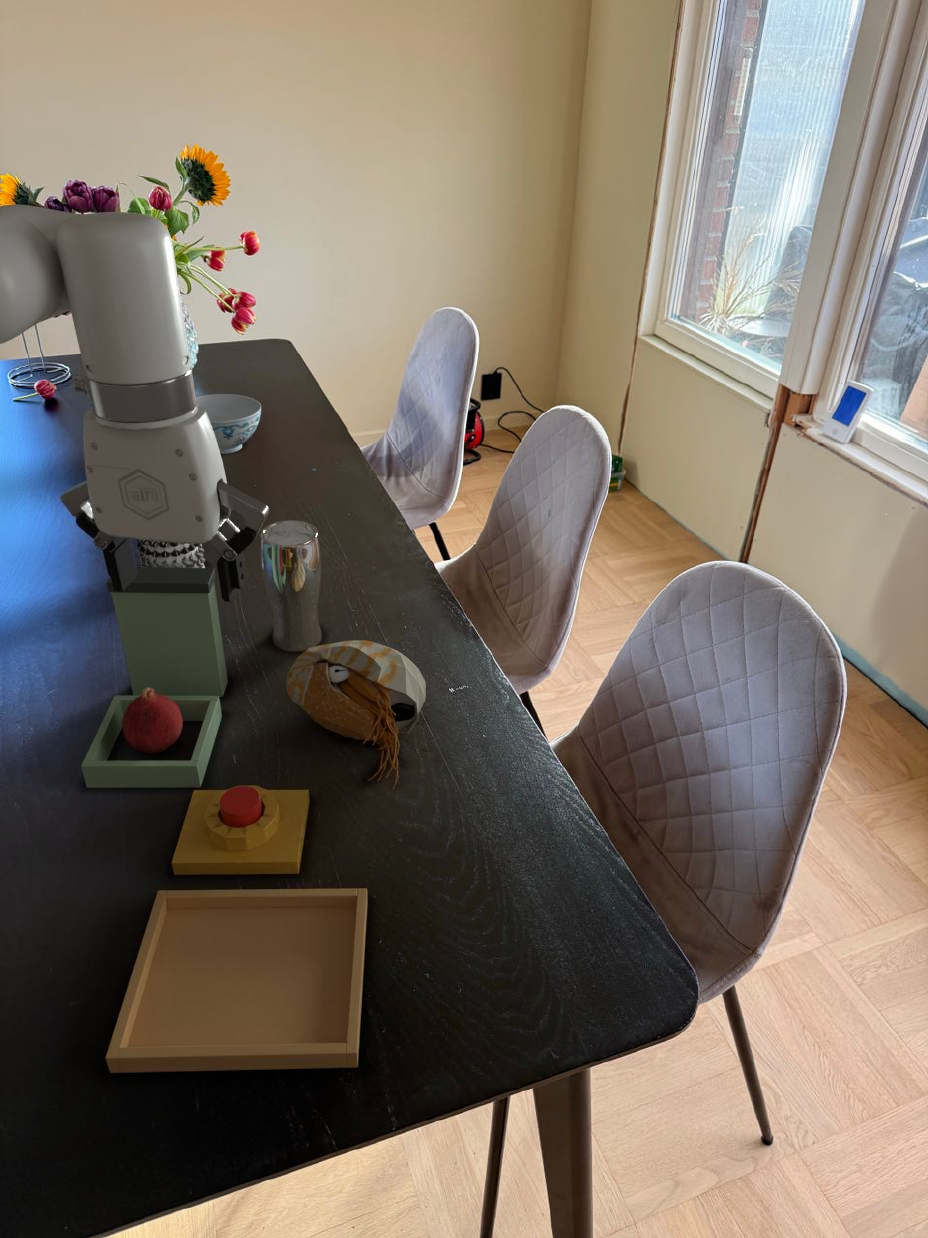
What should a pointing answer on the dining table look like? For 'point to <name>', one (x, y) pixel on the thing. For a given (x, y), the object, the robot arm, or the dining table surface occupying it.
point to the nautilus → (359, 692)
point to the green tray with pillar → (165, 671)
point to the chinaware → (231, 418)
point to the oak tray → (245, 982)
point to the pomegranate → (152, 722)
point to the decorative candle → (170, 554)
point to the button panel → (243, 836)
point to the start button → (240, 806)
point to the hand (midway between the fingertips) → (179, 588)
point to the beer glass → (292, 582)
